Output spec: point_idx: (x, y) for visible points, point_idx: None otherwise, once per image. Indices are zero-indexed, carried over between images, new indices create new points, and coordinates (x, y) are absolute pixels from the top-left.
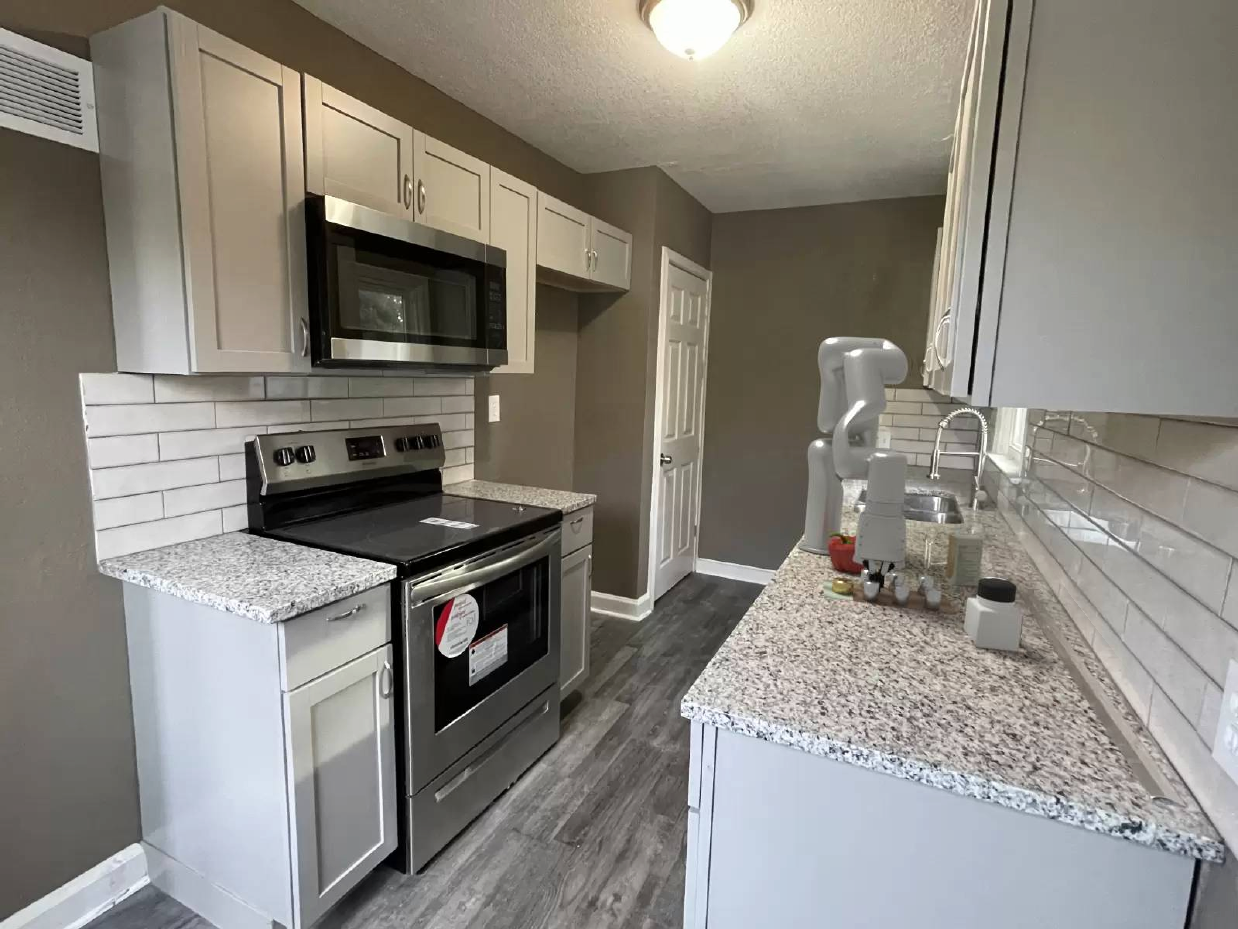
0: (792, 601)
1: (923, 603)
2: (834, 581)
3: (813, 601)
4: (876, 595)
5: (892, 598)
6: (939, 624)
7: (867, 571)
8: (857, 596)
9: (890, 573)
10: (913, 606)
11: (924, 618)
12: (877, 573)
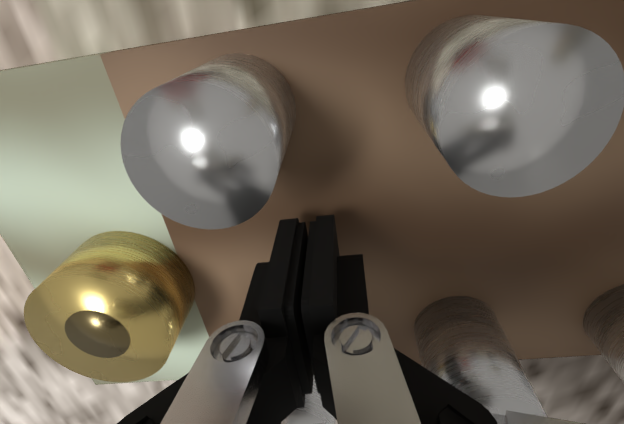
0: (20, 419)
1: (609, 259)
2: (61, 364)
3: (79, 391)
4: None
5: (420, 261)
6: (591, 412)
7: (197, 206)
8: (228, 317)
9: (444, 149)
10: (524, 330)
11: (543, 381)
12: (306, 332)
